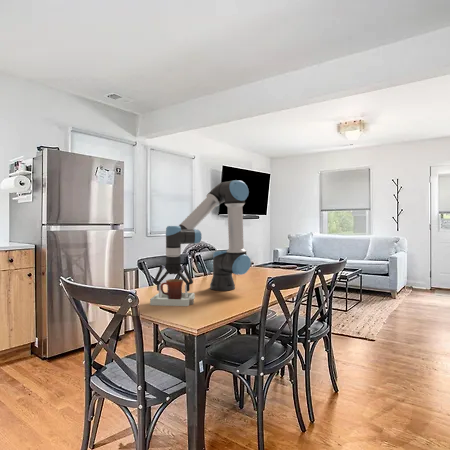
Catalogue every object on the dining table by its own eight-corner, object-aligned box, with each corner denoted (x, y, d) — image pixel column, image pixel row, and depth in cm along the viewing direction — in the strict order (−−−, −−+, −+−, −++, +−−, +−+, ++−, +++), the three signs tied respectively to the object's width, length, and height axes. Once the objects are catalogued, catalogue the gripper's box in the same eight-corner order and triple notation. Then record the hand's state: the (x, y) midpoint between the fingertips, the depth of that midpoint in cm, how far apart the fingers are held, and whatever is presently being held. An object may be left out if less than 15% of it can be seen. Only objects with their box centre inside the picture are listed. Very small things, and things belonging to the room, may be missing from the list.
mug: (178, 297, 189) (178, 278, 189) (186, 300, 182) (186, 280, 181) (157, 300, 182) (157, 280, 182) (164, 303, 175) (164, 283, 175)
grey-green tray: (197, 298, 190) (197, 293, 190) (191, 306, 173) (191, 300, 173) (159, 297, 192) (159, 292, 192) (150, 305, 175) (150, 299, 175)
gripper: (198, 255, 185) (198, 296, 185) (151, 254, 187) (151, 295, 187) (196, 257, 177) (195, 299, 177) (147, 256, 179) (147, 298, 180)
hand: (173, 297), depth 182 cm, fingers open, 13 cm apart
